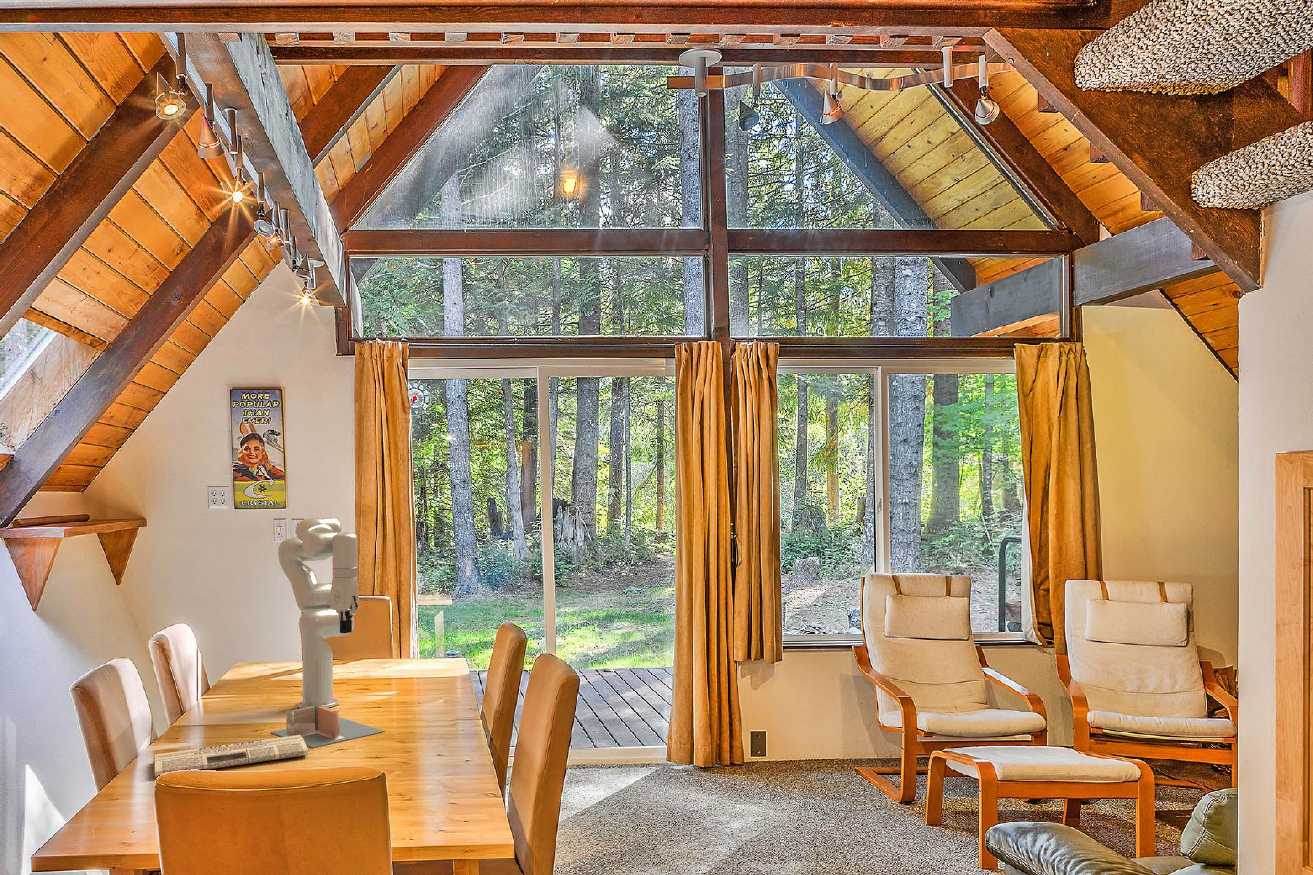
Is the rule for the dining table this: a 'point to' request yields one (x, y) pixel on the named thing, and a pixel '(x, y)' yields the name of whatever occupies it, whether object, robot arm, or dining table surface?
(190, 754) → the newspaper
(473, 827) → the dining table surface
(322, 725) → the fence panel
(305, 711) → the fence fixed
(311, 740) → the card
